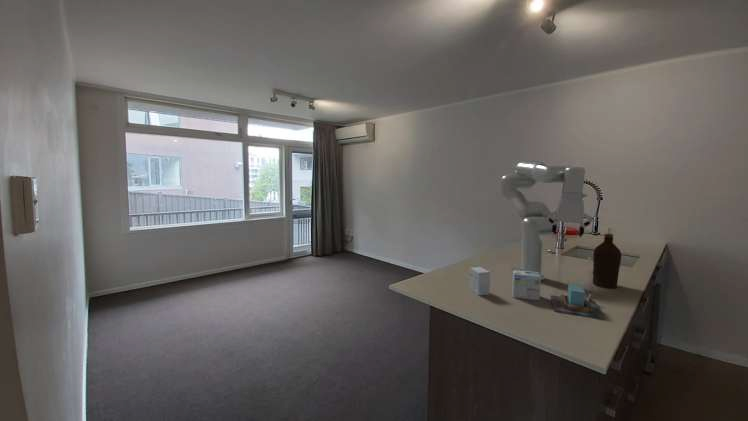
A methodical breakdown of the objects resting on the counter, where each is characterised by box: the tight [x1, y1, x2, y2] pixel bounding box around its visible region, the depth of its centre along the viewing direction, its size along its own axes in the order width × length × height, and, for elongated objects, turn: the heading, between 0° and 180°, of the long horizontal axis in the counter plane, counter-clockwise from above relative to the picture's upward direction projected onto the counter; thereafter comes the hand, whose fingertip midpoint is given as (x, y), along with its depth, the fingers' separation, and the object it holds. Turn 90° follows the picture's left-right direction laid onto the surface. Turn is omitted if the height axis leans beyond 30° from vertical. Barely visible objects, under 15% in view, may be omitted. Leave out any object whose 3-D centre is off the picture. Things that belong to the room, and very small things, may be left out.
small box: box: [468, 266, 491, 297], centre depth 141 cm, size 8×6×10 cm
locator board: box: [550, 293, 605, 320], centre depth 125 cm, size 16×16×4 cm
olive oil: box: [592, 233, 622, 290], centre depth 149 cm, size 11×11×25 cm
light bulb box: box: [511, 270, 542, 301], centre depth 136 cm, size 11×7×11 cm, turn 71°
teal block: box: [567, 284, 586, 307], centre depth 125 cm, size 8×4×7 cm, turn 156°
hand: (567, 234), depth 136 cm, fingers open, 9 cm apart
